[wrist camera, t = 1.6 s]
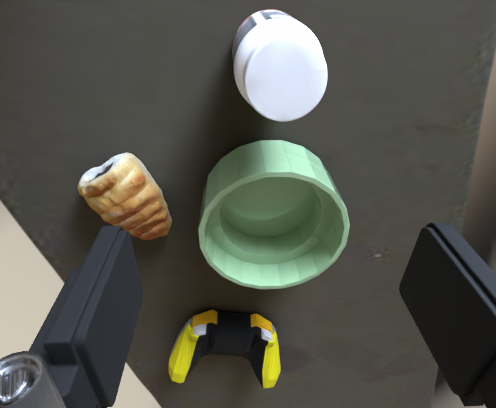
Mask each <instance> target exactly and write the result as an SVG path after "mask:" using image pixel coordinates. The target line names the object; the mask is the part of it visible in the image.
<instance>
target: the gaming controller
mask: <svg viewBox="0 0 496 408" xmlns="http://www.w3.org/2000/svg"><path fill="white" fill-rule="evenodd" d="M208 354H219V355H233V356H242V357H244V358H246V359H248V360H249V361H250V363H251V365H252V367H253V370H254V372H255V374H256V376H257V378H258V380H259V382H260V384H261V386H262V387H263V388H270V387H274V385H275V383H276V381H277V379H278V376H279V373H280V358H279V346H278V338H277V333H276V329H275V327H274V326H273V325H272V323H271V322H270V321H268V320H266V319H265V318H263V317H262V316H260V315H258V314H252V315H250V314H242V313H230V312H219V311H218V312H216V311H215V310H210V311H207V312H204V313H201V314H198V315H194V316H193V317H192V318H191V319H189V320H188V321H187V322H186V323H185V325H184V326H183V328H182V329H181V331H180V332H179V334H178V336H177V339H176V341H175V343H174V345H173V348H172V350H171V352H170V357H169V375H170V377H171V379H172V381H174V382H177V383H183V382H184V381H185V380H186V378H187V377H188V375H189V374H190V373H191V371H192V370H193V368H194V367H195V365H196V363H197V362H198V360H199V359H200V358H201V357H203V356H204V355H208Z"/></svg>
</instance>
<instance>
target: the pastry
mask: <svg viewBox="0 0 496 408" xmlns="http://www.w3.org/2000/svg"><path fill="white" fill-rule="evenodd" d="M77 188H78V191H79V194H80V195H82V196H83V197H84V198H85V200H86V201H87V203H88V204H89V206H90V207H91V208H92V209H93V210H94V211H96V212H97V213H98V214H99V215H100V216H101V217H102V219H103V220H104V221H106V222H108V223H110V224H111V225H113V226H122V227H123V228H124V231H129V232H130V235H132V236H134V237H137V238H140V239H142V240H152V239H155V238H158V237H163V236H166V235H167V234H168V232H169V230H170V226H171V223H172V218H171V216H170V213H169V211H168V207H167V203H166V202H165V200H164V198H163V193H162V190H161V188H159V187H158V185H157V184H156V182H155V180H154V179H153V178H152V176H151V174H150V173H149V172H148V171H147V169H146V168H145V166H144V165H143V163H142V162H141V161H140V160H139V159H138V158H136V157H135V156H134V155H133V154H131V153H123V154H119V155H116V156H114V157H112V158H111V159H110V160H108V161H107V162H105V163H104V164H103V165H102V166H100V167H95V168H92V169H90V170H89V171H87V172H85V173H84V174H83V176H82V177H81V179H80V181H79V184H78V187H77Z"/></svg>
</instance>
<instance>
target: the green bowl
mask: <svg viewBox="0 0 496 408" xmlns="http://www.w3.org/2000/svg"><path fill="white" fill-rule="evenodd" d="M349 228H350V225H349V219H348V214H347V208H346V206H345V204H344V202H343V200H342V198H341V196H340V194H339V192H338V190H337V188H336V186H335V184H334V182H333V180H332V178H331V176H330V174H329V172H328V171H327V169H326V168H325V166H324V165H323V163H322V162H321V160H320V159H319V158H318V157H317V156H315V155H314V154H313V153H311V152H310V151H308V150H307V149H306V148H304V147H302V146H299V145H296V144H293V143H289V142H286V141H283V140H260V141H256V142H253V143H250V144H247V145H243V146H240V147H238V148H236V149H235V150H233V151H232V152H230V153H229V154H227V155H226V156H224V157H223V158H221V159H220V160H219V162H218V163H217V164H216V166H215V167H214V168H213V169H212V171H211V172H210V173H209V175H208V177H207V181H206V184H205V187H204V190H203V196H202V204H201V212H200V220H199V228H198V233H199V243H200V249H201V251H202V253H203V255H204V257H205V258H206V260H207V262H208V264H209V265H210V266H211V267H212V268H213V269H214V270H215V271H217V272H218V273H219V274H220V275H221V276H222V277H224V278H226V279H228V280H230V281H232V282H234V283H236V284H238V285H241V286H246V287H251V288H256V289H282V288H286V287H290V286H294V285H298V284H301V283H304V282H306V281H308V280H310V279H312V278H314V277H316V276H318V275H320V274H321V273H322V272H323V271H325V270H326V269H327V268H328V267H329V266H330V265H332V264H333V263H334V262H335V261H336V259H337V258H338V256H339V255H340V253H341V252H342V250H343V248H344V247H345V245H346V242H347V237H348V233H349Z"/></svg>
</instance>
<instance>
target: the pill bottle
mask: <svg viewBox="0 0 496 408" xmlns="http://www.w3.org/2000/svg"><path fill="white" fill-rule="evenodd" d="M232 57H233V67H234V77H235V81H236V84H237V87H238V89H239V91H240V93H241V95H242V96H243V97H244V99H245V100H246V101H247V102H248V103H249V104H250V105H251V106H253V108H254V109H255V110H256V111H257V112H258V113H260V114H261V115H262V116H264V117H266V118H268V119H271V120H274V121H292V120H295V119H298V118H301V117H303V116H304V115H306V114H307V113H309V112H310V111H311V110H313V109H314V108H315V106H316V105H317V104H318V103H319V101H320V100H321V98H322V96H323V94H324V92H325V89H326V85H327V74H328V73H327V66H326V62H325V60H324V56H323V52H322V48H321V46H320V43H319V41H318V39H317V38H316V36H315V35H314V34H313V33H312V31H311V30H310V29H309V28H308V27H306V26H305V25H304V24H302V23H301V22H299V21H297V20H296V19H294V18H292V17H291V16H289V15H288V14H286V13H284V12H281V11H278V10H263V11H259V12H256V13H254V14H252V15H251V16H249V17H248V18H247V19H246V20H245V21H244V22H243V23H242V24H241V25H240V27H239V29H238V30H237V32H236V35H235V37H234V41H233V46H232Z"/></svg>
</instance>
